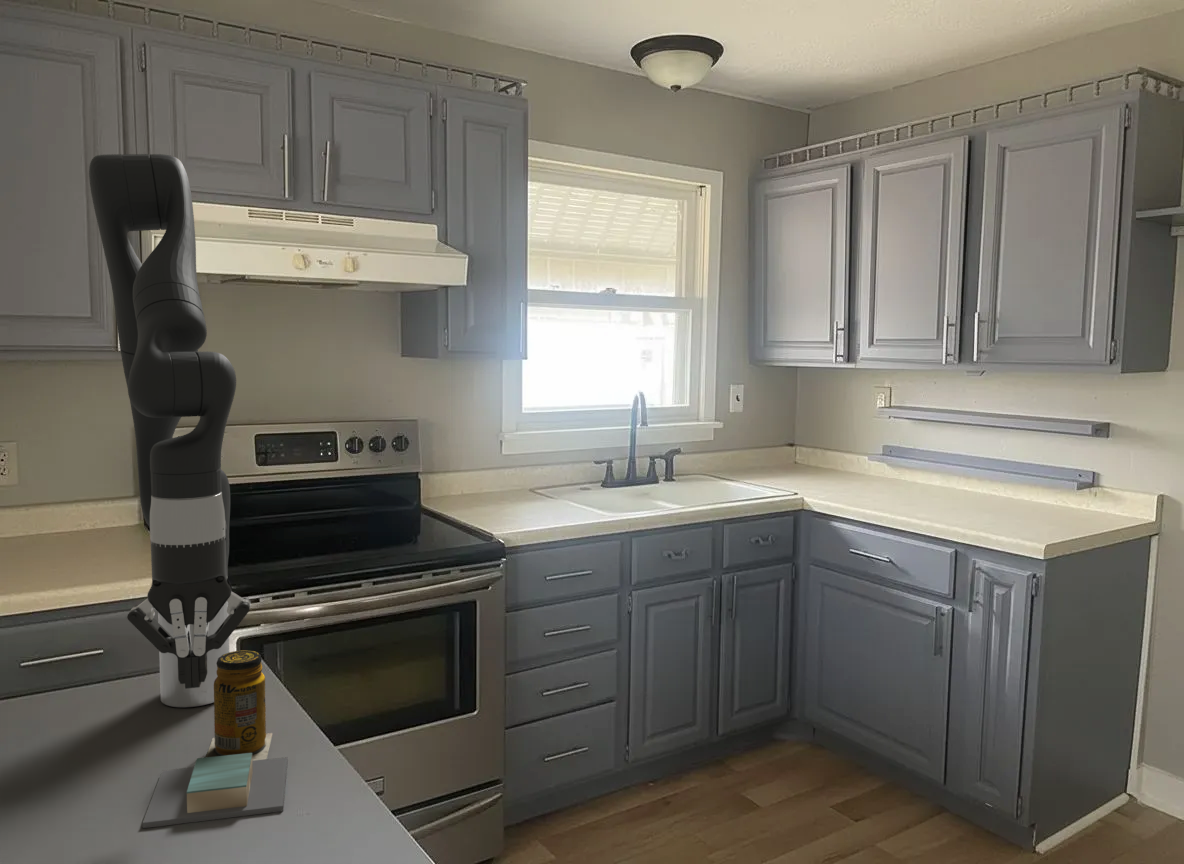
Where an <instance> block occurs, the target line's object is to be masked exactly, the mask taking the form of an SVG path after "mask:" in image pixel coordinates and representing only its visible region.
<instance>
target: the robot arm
mask: <svg viewBox="0 0 1184 864" xmlns="http://www.w3.org/2000/svg"><path fill="white" fill-rule="evenodd" d="M88 177H89V178H88V179H89V187H90V194H91V198H92V204H93V205H92V206H93V209H94V213H95V218H96V222H97V225H98V229H99V230H98V231H99V235H100V238H101V244H102V248H103V252H104V256H105V261H106V265H107V270H108V275H109V279H110V284H111V291H112V297H113V304H114V312H115V320H116V327H117V334H118V343H119V349H120V356H121V357H120V358H121V362H122V367H123V373H124V374H123V375H124V377H125V382H126V388H127V395H128V398H129V404H130V409H131V415H132V421H133V429H134V436H135V445H136V460H137V463H136V464H137V476H138V477H137V478H138V487H139V488H138V489H139V500H140V506H141V510H142V511H141V512H142V514H143V515H142V516H143V517H144V520H145V522H146V524H147V526H148V527H149V534H150V535H149V537H150V558H151V559H150V562H151V563H150V565H151V586H150V589H149V590H148V592H147V595H146V597H147V598H145V599H144V600H143V601H142V602H140V603H139V604H134V605H133V606H132V608H131V609H130V611H129V612H128V613H127V617H126V619H127V620H128V621H129V623H131V624H132V626H133V627H134V628H135V629H137V631H139V632H140V634H142V636H143V637H145V638H146V639H147V640H148V641H149V642H150V643H151V645H153V647H155V648H156V649H157V650H158V652H159V653H158V654H159V655H158V656H159V657H158V658H159V686H160V688H159V689H160V690H159V691H160V694H159V695H160V701H161V703H162V704H163V705H166V706H169V707H173V708H193V707H200V706H205V705H209V704H212V703H213V704H214V681H215V679H216V678H217V677H218V676H217V672H216V671H217V664H216V663H217V660H218V658H219V657H221V656H222V655H224V654H227V653H229V652H230V636H231V635H232V634H233V633H234V631H235V630H236V628H237V627H238V626H239V625H240V624H241V623H242V621H243V620H244V619H245V617H246V616H247V614H248V613H249V612H250V610H251V605H252V604H251V603H252V600H251V599H250V598H249V597H242V596H240V595H238V594H237V593H235V592H233V586H232V584H231V582H230V580H229V579H228V576H229V575H228V574H229V573H228V570H229V569H228V567H229V566H228V565H229V556H230V519H231V518H230V516H231V486H230V482H229V478H228V476H227V474H226V473H225V471H224V470H223V469H222V449H223V448H222V447H223V442H224V438H225V437H224V436H225V431H226V427H227V424H228V419H229V415H230V412H231V408H232V405H233V401H234V399H235V396H236V395H235V393H236V390H237V375H236V371H235V368H234V366H233V365H232V363H231V361H230V360H229V359H228V358H227V357H226V355H224V354H223V353H220V352H217V351H199V349H200V348H202V346H203V345H205V342H206V340H207V336H208V335H207V333H208V329H207V322H206V319H205V318H206V317H205V313H204V308H203V303H202V299H201V295H200V290H199V284H198V275H197V249H196V247H197V246H196V245H197V244H196V229H195V217H194V216H195V215H194V208H193V207H194V205H193V198H192V197H193V196H192V192H191V185H190V179H189V177H188V174H187V170H186V169H185V166H184V165H183V162H182V161H181V160H180V159H179V158H177V157H176V156H173V155H169V154H161V153H150V154H149V153H148V154H147V153H144V154H143V153H138V154H135V153H130V154H129V153H126V154H125V153H124V154H121V153H120V154H119V153H117V154H113V153H112V154H98V155H95V156H94V157H92V159H91V160H90V163H89V170H88ZM143 231H165V232H164V234H163V235H162V237H161V239H160V241H158V243H157V245H156V246H155V247H154V249H153V250H152V251H151V253H150V254H149V255H148V256H147V258H146V259H145V260H144V261H143V263H142V262H141V260H140V258H139V257H138V256H137V253H136V252H135V249H134V247H133V246H132V244H131V241H130V238H129V235H128V233H129V232H143ZM186 417H188V418H189V417H199V420H198V423H197V425H196V426H195V427H194V428H193V429H192V430H191V431H190V432H188V433H186V434H183V435H179V436H176V437H173V436H174V434H175V431H176V429H177V426H178V424H179V422H180V421H181V418H186ZM154 609H155V610H156V611H157V616H158V617H157V618H158V619H157V620H156V619H155V615H156V612H155V610H154Z"/></svg>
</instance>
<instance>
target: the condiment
mask: <svg viewBox="0 0 1184 864" xmlns="http://www.w3.org/2000/svg"><path fill="white" fill-rule="evenodd" d="M262 660H263V658H262V655H261V654H260V653H259V652H258V651H254V650H247V649H245V650H241V649H240V650H233V651H229V653H227V654H224V655H222V656H221V657H219V658H218V660H217V663H216V664H217V671H216V672H217V676H218V677H217V678H216V679H215V681H214V702H213V707H214V711H213V713H214V714H213V715H214V717H213V718H214V724H213V725H214V737H212V739H211V742H210V745H209V748H208V751H207V753H206V755H205V757H204V758H206V757H216V756H225V755H235V754H244V753H252V761H254V760H263V759H268V755H269V752H270V751H269V750H270V746H271V743H272V738H273V732H270V733H269V732H268V733H266V731H267V728H266V726H267V724H266V722H267V721H266V720H267V717H266V712H267V711H266V709H267V706H266V676H265V675H264V673H263V671H262V670H263V665H262Z"/></svg>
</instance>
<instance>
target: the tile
mask: <svg viewBox="0 0 1184 864" xmlns="http://www.w3.org/2000/svg"><path fill="white" fill-rule="evenodd" d="M205 757H206V756H205ZM205 757H198V758H196V760H195V763H194V766H193V767H194V770H193V773H192V776H191V780H190V783H189V786H188V789H187V813H193V812H201V811H209V810H218V809H226V808H234V807H243V806H247V802H248V796H249V790H250V785H251V779H252V773H253V767H252V753H244V754H235V755H225V756H216V757H206V758H205Z"/></svg>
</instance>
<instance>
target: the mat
mask: <svg viewBox="0 0 1184 864" xmlns="http://www.w3.org/2000/svg"><path fill="white" fill-rule="evenodd" d="M288 761H289V760H288V756H283V757H274V758H267V759H263V760H254V761H252V767H253V773H252V779H251V785H250V790H249V796H248V802H247V806H243V807H234V808H226V809H218V810H209V811H201V812H193V813H187V789H188V786H189V783H190V780H191V776H192V773H193V770H194V767H195V766H191V767H182V768H172V769H162V770H161V772H160V775H159V779H158V780H157V784H156V786H155V789H154V791H153V793H152V797H151V800H150V802H149V805H148V807H147V811H146V812H145V816H144V818H143V821H142V829H148V828H155V827H164V826H172V825H180V824H188V823H195V822H204V821H205V822H206V821H213V820H222V819H229V818H235V817H236V818H237V817H247V816H253V815H260V814H261V815H262V814H270V813H278V812H279V813H280V812H284V807H285V806H284V805H285V795H286V782H287V775H288Z"/></svg>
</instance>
